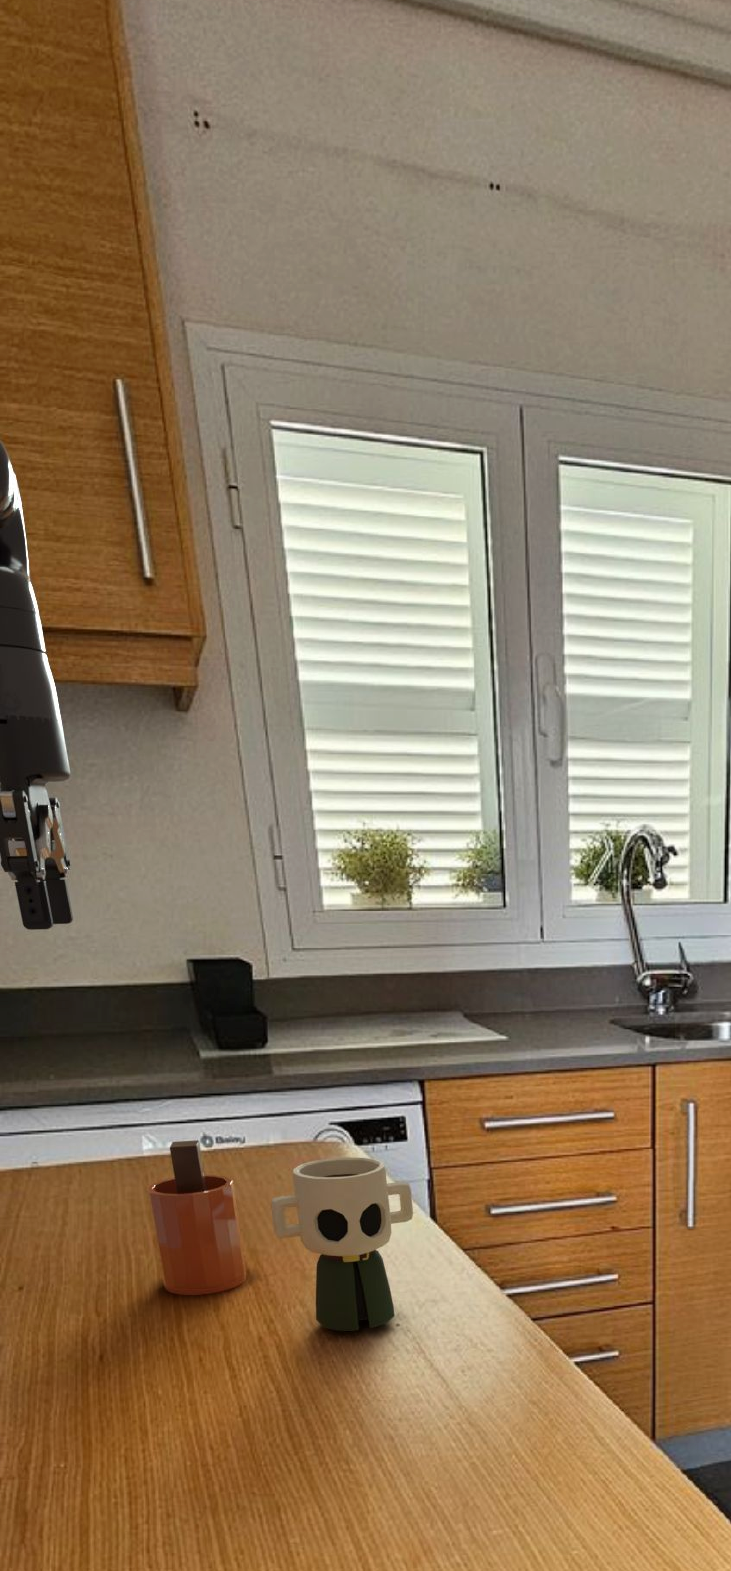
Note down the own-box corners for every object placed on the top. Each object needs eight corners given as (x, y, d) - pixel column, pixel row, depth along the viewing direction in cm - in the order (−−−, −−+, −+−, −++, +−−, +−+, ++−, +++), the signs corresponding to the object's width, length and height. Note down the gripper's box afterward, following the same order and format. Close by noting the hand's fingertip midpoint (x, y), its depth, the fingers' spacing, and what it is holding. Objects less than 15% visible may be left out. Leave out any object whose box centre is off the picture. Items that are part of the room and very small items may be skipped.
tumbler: (148, 1292, 105) (130, 1193, 102) (192, 1267, 111) (177, 1172, 108) (219, 1297, 104) (203, 1196, 100) (261, 1271, 110) (247, 1176, 107)
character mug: (296, 1349, 92) (274, 1185, 87) (280, 1320, 98) (259, 1165, 93) (433, 1326, 97) (420, 1168, 92) (410, 1299, 103) (397, 1150, 98)
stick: (191, 1280, 106) (169, 1147, 102) (194, 1272, 108) (172, 1141, 104) (217, 1278, 107) (196, 1145, 102) (219, 1270, 109) (199, 1139, 104)
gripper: (-18, 723, 103) (22, 923, 109) (-67, 704, 90) (-20, 932, 96) (76, 725, 104) (110, 921, 111) (40, 706, 92) (81, 929, 98)
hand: (50, 926), depth 103 cm, fingers open, 8 cm apart
